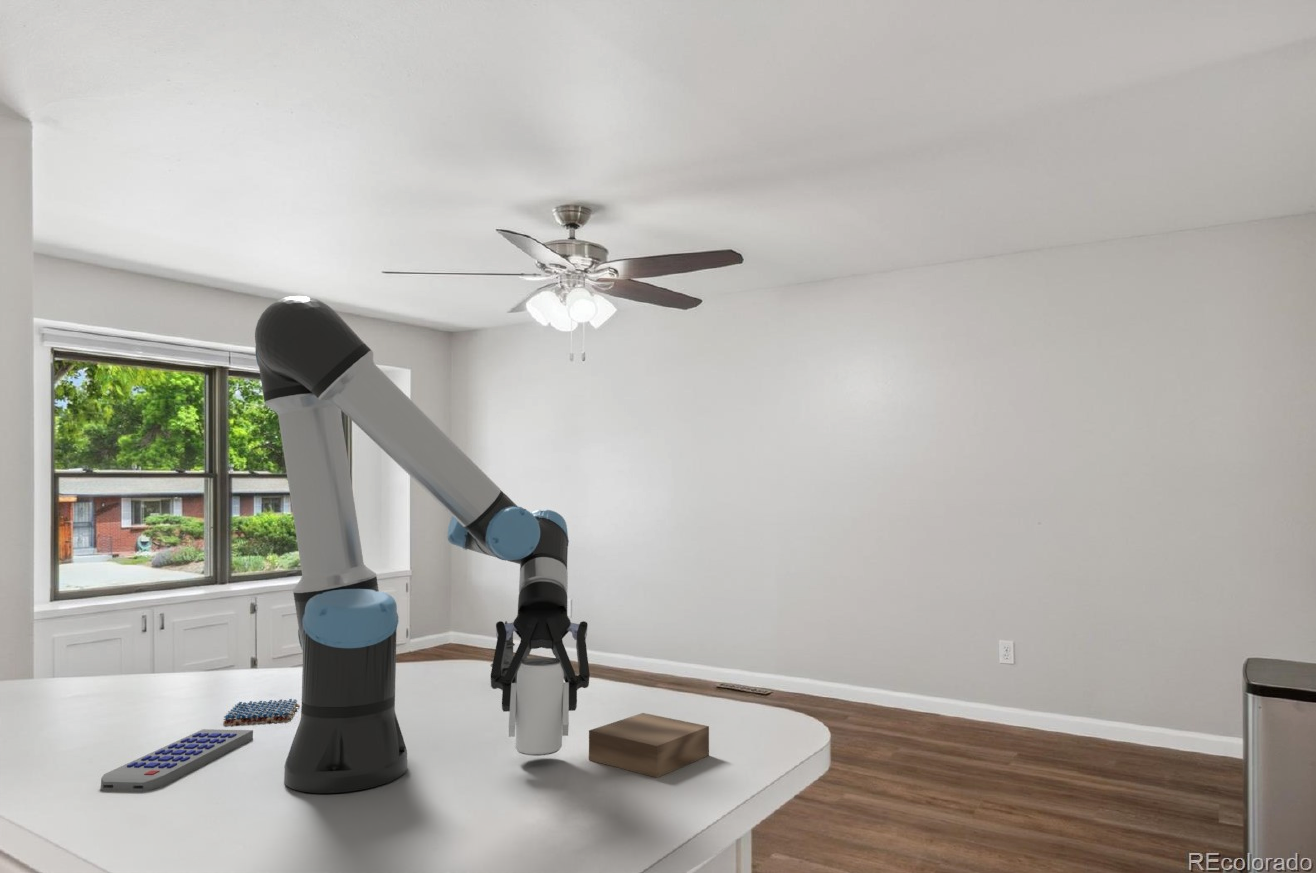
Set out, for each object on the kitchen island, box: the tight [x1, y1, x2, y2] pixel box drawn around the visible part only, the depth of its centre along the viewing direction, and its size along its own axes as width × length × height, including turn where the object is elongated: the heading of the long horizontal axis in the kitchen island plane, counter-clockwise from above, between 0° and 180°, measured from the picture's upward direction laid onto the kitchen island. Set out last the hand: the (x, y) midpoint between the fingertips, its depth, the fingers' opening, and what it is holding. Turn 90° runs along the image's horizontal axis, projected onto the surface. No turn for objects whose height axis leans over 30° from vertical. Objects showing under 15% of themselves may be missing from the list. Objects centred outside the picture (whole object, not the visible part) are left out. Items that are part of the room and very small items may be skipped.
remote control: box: [100, 728, 254, 792], centre depth 114 cm, size 8×23×2 cm, turn 176°
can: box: [514, 656, 565, 757], centre depth 115 cm, size 6×6×12 cm
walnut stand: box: [588, 712, 710, 778], centre depth 117 cm, size 12×12×4 cm
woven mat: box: [222, 698, 301, 727], centre depth 139 cm, size 10×11×2 cm
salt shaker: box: [490, 620, 517, 683], centre depth 164 cm, size 6×6×12 cm
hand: (538, 730), depth 111 cm, fingers closed on can, 6 cm apart
